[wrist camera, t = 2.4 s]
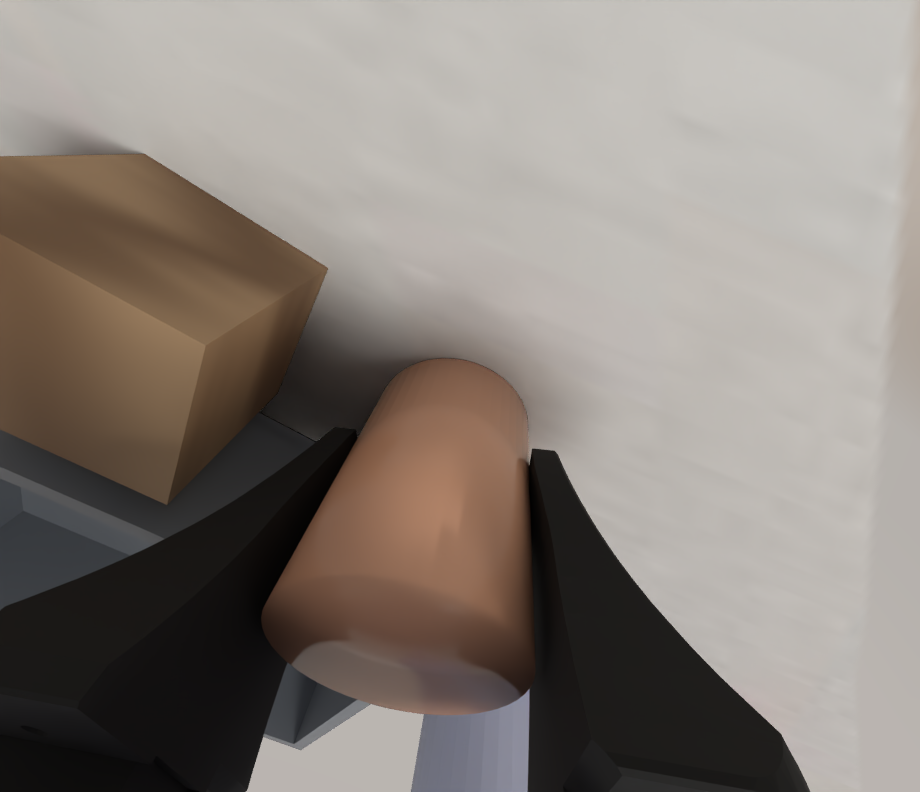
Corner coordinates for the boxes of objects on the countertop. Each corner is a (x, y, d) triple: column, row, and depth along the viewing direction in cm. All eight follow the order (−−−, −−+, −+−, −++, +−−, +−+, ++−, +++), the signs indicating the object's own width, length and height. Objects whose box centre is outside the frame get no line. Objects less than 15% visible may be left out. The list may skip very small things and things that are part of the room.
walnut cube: (329, 267, 11) (205, 345, 6) (278, 391, 13) (166, 505, 9) (147, 153, 10) (-138, 158, 5) (131, 312, 12) (-71, 397, 8)
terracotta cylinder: (560, 413, 12) (599, 663, 6) (474, 499, 15) (444, 733, 9) (422, 327, 11) (313, 528, 5) (356, 436, 14) (234, 651, 8)
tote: (462, 518, 15) (440, 658, 11) (342, 635, 22) (300, 750, 18) (1, 278, 12) (-275, 347, 8) (26, 501, 19) (-116, 603, 15)
